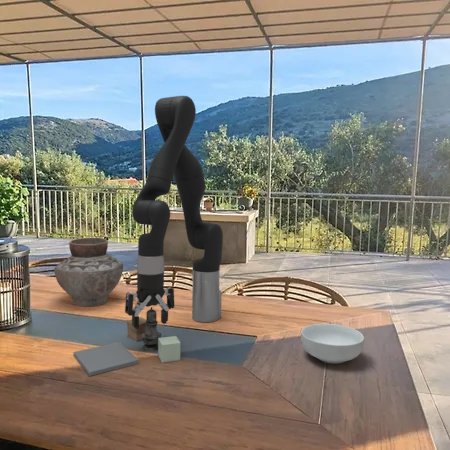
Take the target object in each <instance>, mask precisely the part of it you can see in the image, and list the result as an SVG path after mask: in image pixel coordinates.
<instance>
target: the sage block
mask: <svg viewBox="0 0 450 450" xmlns="http://www.w3.org/2000/svg"><path fill="white" fill-rule="evenodd" d="M157 350H158V352H157V355H158V357H159V359H160V363H169V362H178V361H181V341H180V339H179V338H178V337H177V336H176V335H171V336H165V337H164V336H163V337H161V338H158V349H157Z"/></svg>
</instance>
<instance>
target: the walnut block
mask: <svg viewBox="0 0 450 450" xmlns="http://www.w3.org/2000/svg"><path fill="white" fill-rule="evenodd" d="M146 321H147V319H146V318H144V317H142V316H139V329H135V328H134V327H133V326H132V319H130V320H129V319H128V320H126V325H127V330H126V331H127V336H126V337H128V338H130V339H132V340H134V341H135V342H138V341H141V340H142V341H143V339H142V337H141V335H142V334H143V333H145V332H146V324H145V322H146Z"/></svg>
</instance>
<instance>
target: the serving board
mask: <svg viewBox="0 0 450 450" xmlns="http://www.w3.org/2000/svg"><path fill="white" fill-rule="evenodd" d="M73 357H74V358H75V359H76V360H77V362H78V363H79V365H80V366H81V367H82V368H83V370H84V371H85V372H86V374H87V375H88V377H92V376H97V375H100V374H104V373H107V372H111V371H115V370H118V369H119V370H120V369H124V368H126V367H130V366H134V365H138V364H140V363H139V362H140V361H139V359H138V358H137V357H136V355H134V354H133V353H132V352H131V351H129V349H128V348H126V346H124V345H123V344H122V343H121V342H120V341H118V342H117V341H116V342H113V343H108V344H103V345H100V346H94V347H90V348H86V349H82V350H77V351H73Z"/></svg>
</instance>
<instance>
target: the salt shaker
mask: <svg viewBox="0 0 450 450" xmlns="http://www.w3.org/2000/svg"><path fill="white" fill-rule="evenodd" d="M145 315H146V318H145V319H146V320H147V321H146V322H145V324H146V332H145V333H143V334H142V335H141V337H142V342H143V343H144V344H143V345H142V346H141V347H142V349H143V350H145V351H148V352H150V351H157V350H158V338H162V336H163V334H162V332H160V331H158V323H159V321H158V320H157V317H158V316H157V315H158V312H157V311H156V309H153V307H152V306H150V308H149V309H148V310H147V311H146V314H145Z"/></svg>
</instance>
